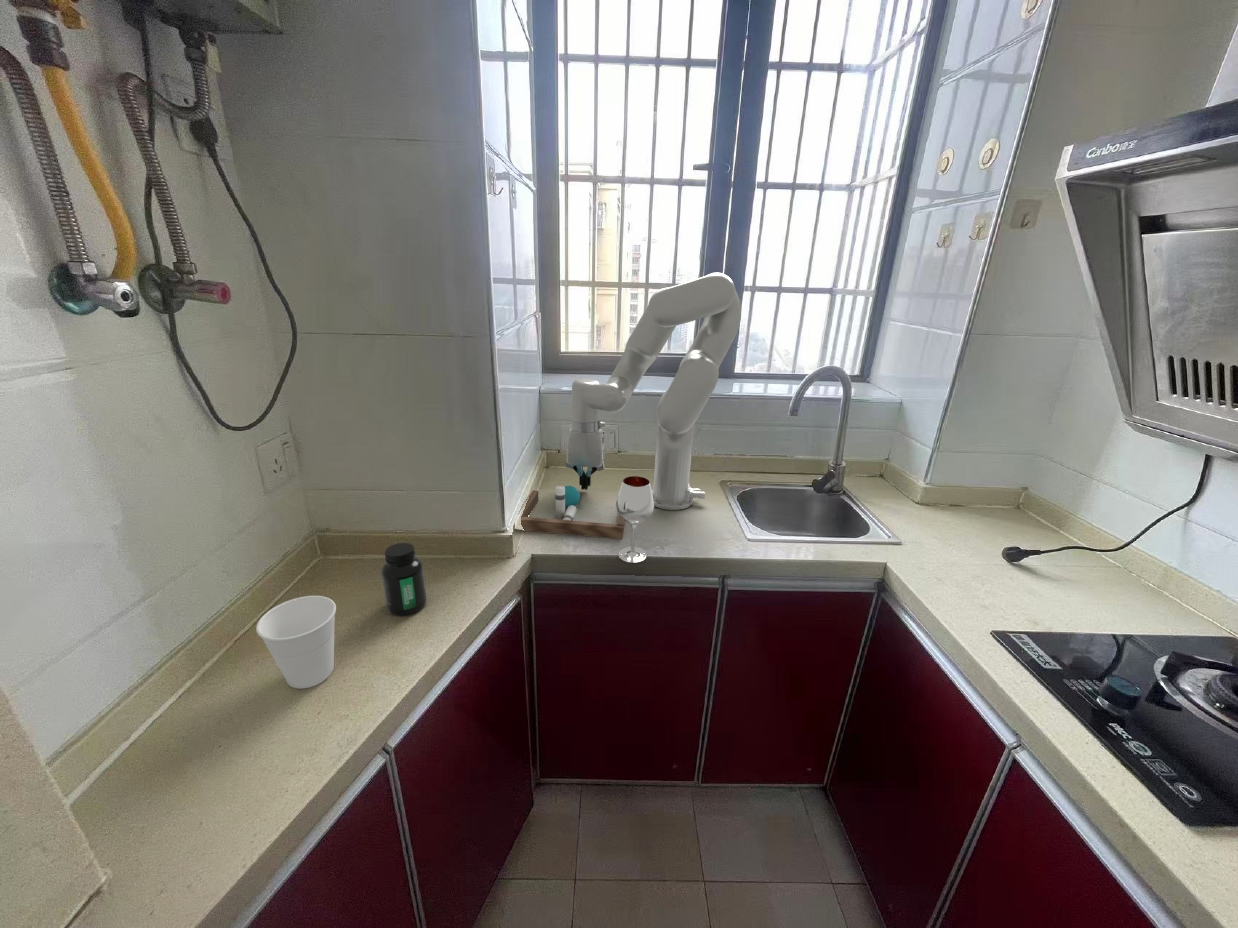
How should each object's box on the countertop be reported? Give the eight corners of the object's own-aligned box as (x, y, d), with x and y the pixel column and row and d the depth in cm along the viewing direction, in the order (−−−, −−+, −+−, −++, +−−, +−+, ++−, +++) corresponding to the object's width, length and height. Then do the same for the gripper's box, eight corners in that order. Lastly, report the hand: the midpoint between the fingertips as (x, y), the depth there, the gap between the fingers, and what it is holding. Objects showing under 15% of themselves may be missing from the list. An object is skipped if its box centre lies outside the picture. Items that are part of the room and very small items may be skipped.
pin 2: (570, 503, 128) (564, 518, 120) (578, 508, 129) (572, 524, 121) (565, 510, 129) (558, 525, 121) (573, 515, 129) (567, 531, 122)
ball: (572, 507, 127) (584, 508, 133) (572, 484, 128) (583, 485, 133) (552, 508, 130) (564, 509, 135) (552, 485, 130) (564, 487, 136)
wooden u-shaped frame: (628, 507, 134) (628, 497, 132) (622, 539, 118) (622, 527, 117) (533, 500, 136) (532, 490, 135) (514, 530, 120) (514, 518, 119)
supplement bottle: (419, 617, 90) (411, 560, 85) (381, 616, 89) (371, 559, 85) (432, 594, 96) (425, 539, 92) (396, 593, 96) (387, 539, 91)
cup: (295, 652, 81) (280, 595, 77) (358, 650, 81) (347, 594, 77) (258, 701, 72) (239, 640, 67) (330, 699, 72) (315, 639, 68)
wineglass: (634, 542, 117) (638, 471, 110) (658, 557, 111) (663, 483, 105) (606, 553, 112) (609, 479, 105) (630, 569, 106) (634, 492, 100)
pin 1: (566, 516, 128) (566, 486, 125) (564, 521, 125) (564, 490, 122) (556, 515, 128) (556, 485, 125) (554, 520, 126) (554, 489, 122)
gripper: (614, 423, 137) (612, 484, 144) (561, 419, 138) (561, 480, 145) (611, 431, 130) (609, 495, 137) (555, 427, 132) (556, 491, 138)
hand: (585, 487), depth 141 cm, fingers closed
